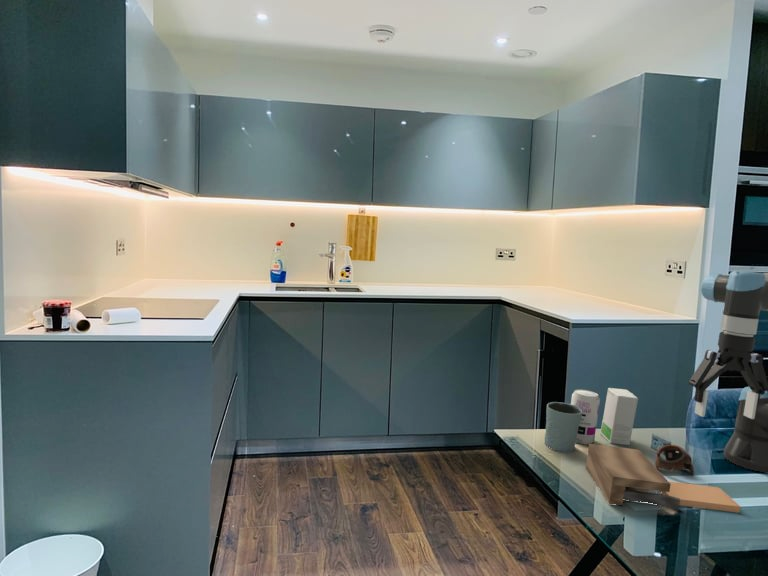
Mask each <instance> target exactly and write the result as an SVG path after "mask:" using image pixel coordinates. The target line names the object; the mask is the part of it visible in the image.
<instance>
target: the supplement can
mask: <svg viewBox="0 0 768 576" xmlns="http://www.w3.org/2000/svg"><path fill="white" fill-rule="evenodd" d="M600 402H601V399H600V397H599V394H598V393H596V392H594V391H591V390H588V389H575V390H574V391H573V393H572V394H571V400H570V404H571V405H574V406H577V407H579V408H580V409H581V410H582V416H581V420H580V424H579V428H578V433H577V437H576V443H577V444H581V445H589V444H593V442H595V438H596V437H595V436H596V430H597V425H598V424H597V422H598V418H599V417H598V415H599V409H600ZM576 443H575V444H576Z"/></svg>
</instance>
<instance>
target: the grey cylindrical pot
mask: <svg viewBox="0 0 768 576" xmlns="http://www.w3.org/2000/svg"><path fill="white" fill-rule="evenodd" d="M545 413H546V415H545V416H546V417H545V419H546V421H545V432H544V445H545V446H546V447H547V446H548V447H547V448H549V447H550V448H549V449H551V448H552V449H551V450H553V449H555V450H554V451H556V450H557V452H561V453H570V452H573V451H574V450H575V447H576V437H577V433H578V428H579V424H580V420H581V416H582V410H581V409H580V408H579V407H577V406H574V405H571V403H566V402H558V401H551V402H548V403H547V404H546V411H545Z"/></svg>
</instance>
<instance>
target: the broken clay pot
mask: <svg viewBox="0 0 768 576" xmlns="http://www.w3.org/2000/svg"><path fill="white" fill-rule="evenodd" d="M662 453H663V454H664V457H665V458H663V457H662V456H661V454H662ZM654 466H655V468H656V469H657V470H658V471H659V469H662V470H667V471H672V470H673V471H676V470H677V471H678V470H682V471H685V469H686V470H688V471H689V472H690V474H691V476H694V475H695V474H694V473H695V469H694V466H693V462H692V457H691V455H690V454H689V453H688V452H687V451H686V450H685V449H684V448H683V447H681V446H679V445H676V444H672V443H670V442H668V443H665V444H663V445H662V446H661V447H659V449H658V450H656V457H655V463H654Z"/></svg>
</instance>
